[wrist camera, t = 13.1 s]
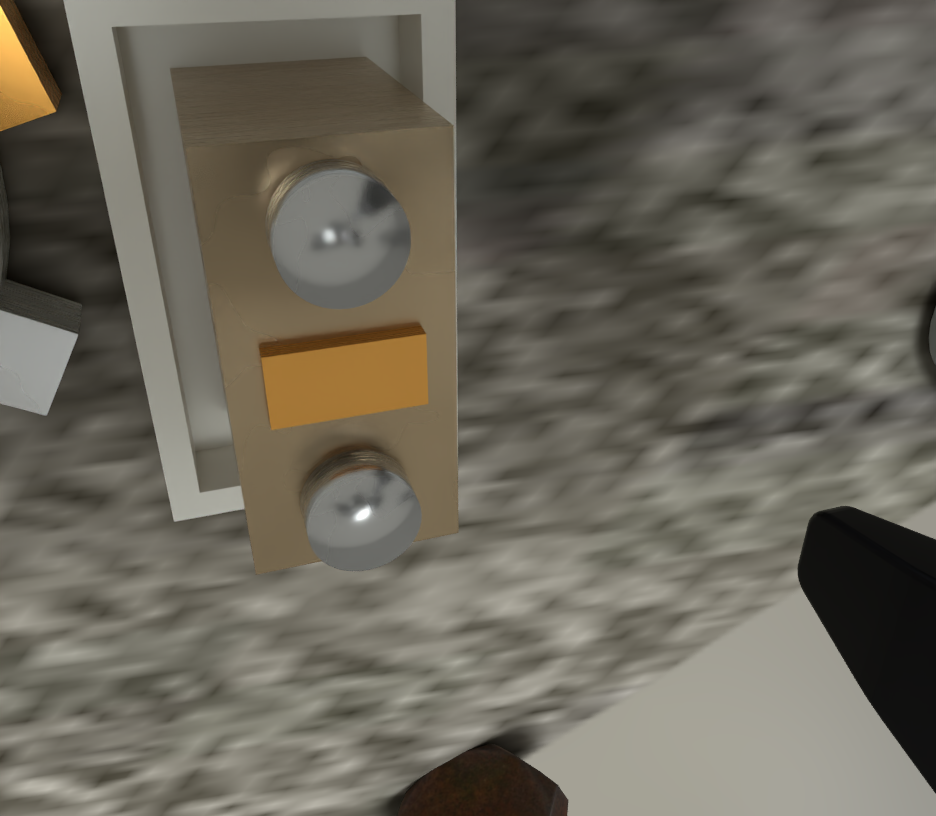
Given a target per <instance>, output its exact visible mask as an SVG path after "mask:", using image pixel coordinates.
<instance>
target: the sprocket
mask: <svg viewBox="0 0 936 816" xmlns="http://www.w3.org/2000/svg"><path fill="white" fill-rule="evenodd" d="M61 95H62V93H61V91H60V89H59V87H58V85H57V84H56V82H55V80H54V78H53V76H52V74H51V72H50V70H49V68H48V66H47V64H46V62H45V60H44V58H43V56H42V55H41V53H40V51H39V49H38V47H37V45H36V43H35V41H34V39H33V37H32V35H31V33H30V31H29V29H28V28H27V26H26V24H25V22H24V20H23V18H22V16H21V14H20V12H19V10H18V8H17V6H16V4H15V2H14V1H13V0H0V131H3V130H5V129H8V128H11V127H14V126H17V125H20V124H23V123H25V122H28V121H31V120H34V119H37V118H40V117H43V116H45V115H48V114H51V113H54V112H56V111H57V108H58V105H59V102H60V98H61ZM9 247H10V232H9V214H8V199H7V194H6V189H5V185H4V180H3V175H2V170H1V165H0V404H4V405H8V406H12V407H15V408H19V409H23V410H27V411H30V412H34V413H38V414H42V415H45V416H47V414H48V411H49V409H50V406H51V404H52V401H53V398H54V396H55V393H56V391H57V388H58V386H59V383H60V381H61V378H62V375H63V373H64V370H65V368H66V365H67V363H68V360H69V358H70V355H71V352H72V350H73V347H74V345H75V342H76V340H77V337H78V334H79V326H80V317H81V308H82V304H80V303H77V302H74V301H71V300H68V299H65V298H62V297H59V296H56V295H53V294H50V293H47V292H44V291H41V290H38V289H35V288H32V287H29V286H26V285H23V284H20V283H17V282H14V281H11V280H8V279H6V278H7V268H8V258H9Z"/></svg>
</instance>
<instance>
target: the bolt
mask: <svg viewBox="0 0 936 816" xmlns="http://www.w3.org/2000/svg"><path fill="white" fill-rule="evenodd" d="M567 810H568V799H567V798H566V796H565V795H564V793H563V792H562V791H561V789H560V788H559V787H558V785H557V784H556V783H554V782H553V781H552V780H551V779H549V778H548V777H546V776H545V775H544V774H543V773H541V772H540V771H538V770H537V769H535V768H534V767H532V766H531V765H529V764H527V763H526V762H524V761H523V760H521V759H520V758H518V757H517V756H515V755H514V754H512V753H510V752H509V751H507V750H505V749H503V748H501V747H499V746H497V745H494V744H492V743H491V744H487V745H484V746H481V747H477V748H474V749H471V750H468V751H466V752H464V753H462V754H460V755H459V756H457V757H455V758H453V759H452V760H450V761H448V762H446V763H444V764H443V765H441V766H439V767H437V768H435V769H434V770H432V771H430V772H429V773H427V774H426V775H425V776H423V777H422V778H421V779H419V780H418V781H417V782H416V783H415V784H414V785H413V786H412V787H411V788H410V789H409V790H408V791H407V792H406V794H405V796H404V798H403V801H402V803H401V806H400V809H399V812H398V815H397V816H567Z"/></svg>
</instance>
